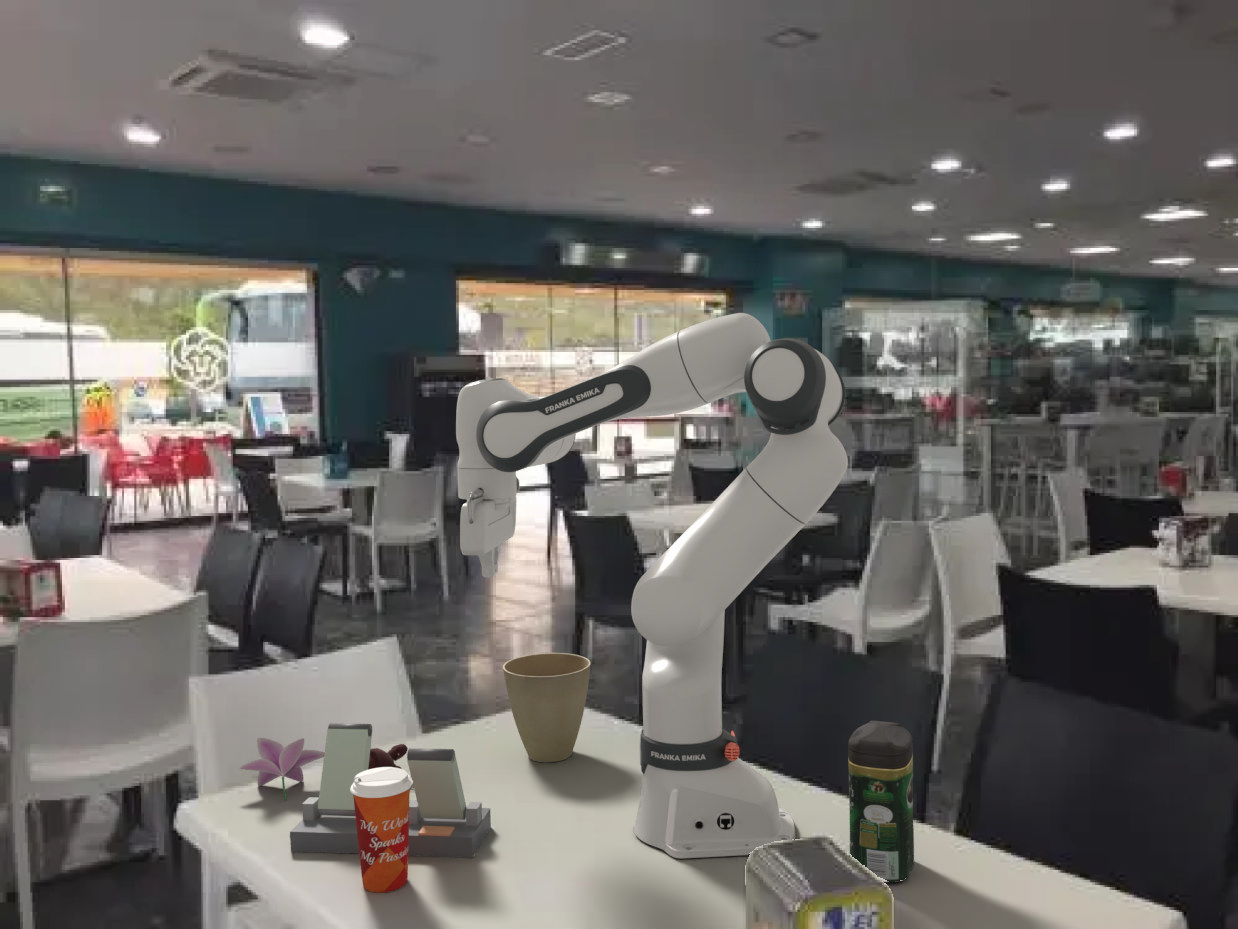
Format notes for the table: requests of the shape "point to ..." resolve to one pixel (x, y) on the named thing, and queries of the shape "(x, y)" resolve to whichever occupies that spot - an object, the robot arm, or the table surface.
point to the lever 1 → (343, 766)
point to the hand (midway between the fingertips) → (490, 575)
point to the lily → (281, 761)
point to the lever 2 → (437, 783)
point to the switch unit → (423, 832)
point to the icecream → (386, 756)
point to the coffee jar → (882, 799)
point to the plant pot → (547, 701)
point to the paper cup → (382, 827)
